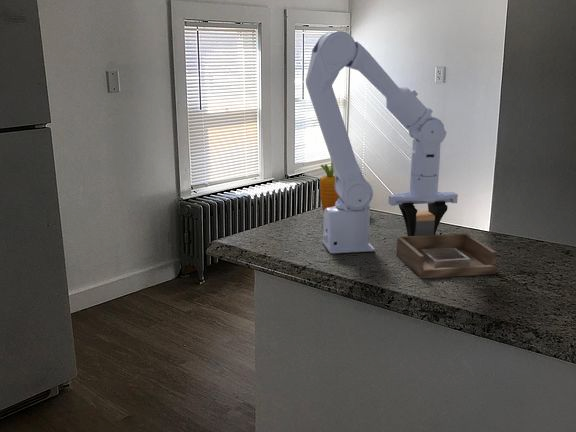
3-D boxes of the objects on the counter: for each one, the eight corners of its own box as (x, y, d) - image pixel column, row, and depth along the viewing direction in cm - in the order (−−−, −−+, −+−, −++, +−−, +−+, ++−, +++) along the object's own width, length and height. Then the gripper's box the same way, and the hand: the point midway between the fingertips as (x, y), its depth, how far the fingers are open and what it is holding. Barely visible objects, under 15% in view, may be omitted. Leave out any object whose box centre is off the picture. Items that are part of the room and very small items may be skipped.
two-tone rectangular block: (414, 248, 130) (416, 216, 128) (408, 242, 134) (409, 211, 132) (432, 247, 131) (435, 215, 129) (425, 241, 135) (427, 210, 133)
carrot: (325, 225, 147) (326, 163, 143) (315, 220, 151) (316, 160, 147) (343, 223, 149) (345, 161, 145) (332, 218, 153) (334, 158, 149)
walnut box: (420, 278, 113) (421, 257, 112) (396, 255, 125) (397, 236, 124) (496, 273, 115) (498, 253, 114) (465, 251, 128) (467, 233, 127)
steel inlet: (434, 268, 116) (434, 261, 116) (420, 256, 123) (420, 249, 123) (470, 266, 117) (470, 259, 117) (454, 254, 124) (454, 247, 124)
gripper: (397, 178, 123) (394, 243, 127) (465, 176, 126) (460, 240, 129) (386, 172, 130) (383, 233, 133) (451, 170, 132) (447, 230, 136)
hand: (420, 236), depth 132 cm, fingers open, 4 cm apart
